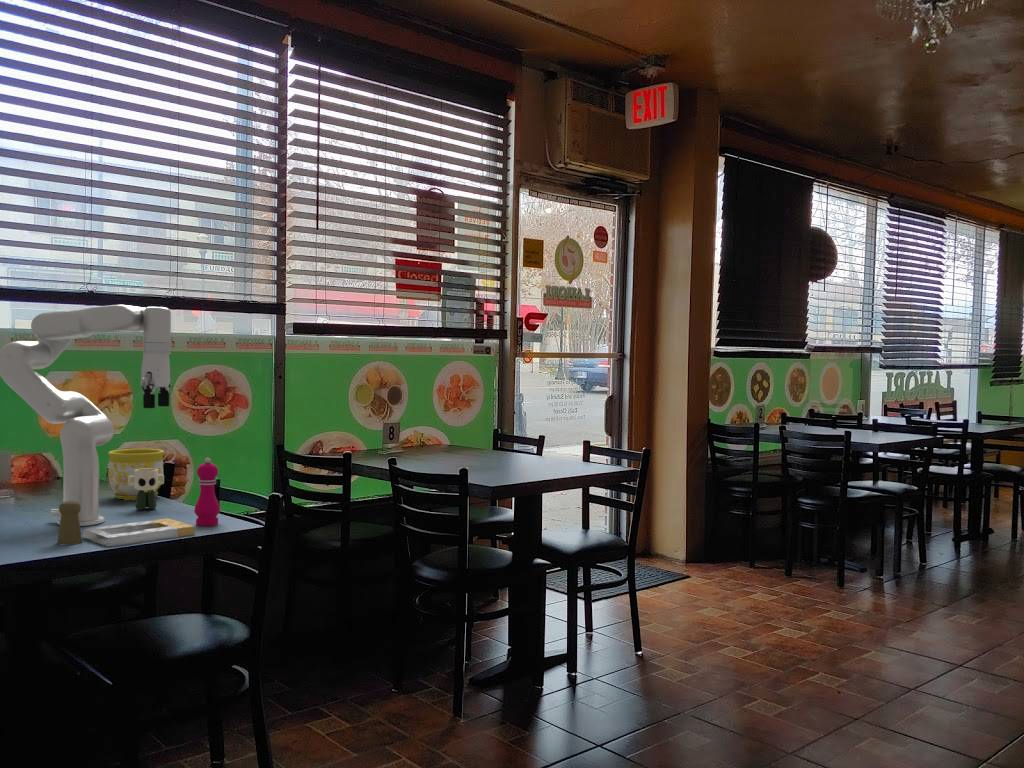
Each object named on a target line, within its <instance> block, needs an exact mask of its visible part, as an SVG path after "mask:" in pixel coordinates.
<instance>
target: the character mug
mask: <svg viewBox="0 0 1024 768" xmlns="http://www.w3.org/2000/svg"><path fill="white" fill-rule="evenodd" d="M158 477H161V482H158ZM131 479H134V483H131ZM160 484H161V485H164V484H165V475H164V474H158V469H153V468H144V469H136V470H135V471H134V476H128V486H134V487H135V489H137V490H139V492H138V494H137V499H136V500H135V508H136V509H137V510H140V509H142V510H146V509H147V508H148V509H147V510H153V509H156V508H157V499H156V498H157V497H156V496H155V493H154V491H153V489H156V488H157V486H158V485H160ZM161 485H160V486H161Z"/></svg>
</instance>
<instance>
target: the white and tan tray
mask: <svg viewBox="0 0 1024 768" xmlns="http://www.w3.org/2000/svg"><path fill="white" fill-rule="evenodd" d="M195 528H196V527H195V525H192V524H189V523H185V522H181V521H179V520H175V519H172V518H160V519H159V518H158V519H153V520H145V521H144V520H143V521H136V522H130V523H129V522H128V523H120V524H111V525H106V526H105V525H103V526H96V527H89V528H88V527H87V528H83V534H82V535H83V537H84V538H83V537H82V538H83V539H86V538H87V539H86V540H88V539H89V540H88V541H91V540H92V542H94V543H96V542H97V543H96V544H99V543H100V544H99V545H101V544H102V546H104V545H105V546H104V547H107V546H108V547H107V548H110V547H109V546H111V547H116V546H117V545H118V546H124V545H125V546H126V545H130V544H131V545H132V544H137V543H138V544H139V543H145V542H152V541H158V540H168V539H175V538H181V537H187V536H195V533H196V532H195V531H196V530H195Z"/></svg>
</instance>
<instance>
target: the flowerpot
mask: <svg viewBox="0 0 1024 768" xmlns="http://www.w3.org/2000/svg"><path fill="white" fill-rule="evenodd" d="M164 454H165V451H164V450H163V449H157V448H124V449H114V450H113V449H112V450H110V451H108V453H107V455H108V456H109V465H108V476H107V477H108V481H109V485H110V487H111V488H112V490H113V491H114V492H115V493H114V494H113V496H114V497H116V499H117V498H118V499H117V500H119V499H125V500H124V501H129V500H132V501H136V499H137V494H138V492H139V490H137V489H135V487H134V486H128V476H134V471H135V470H136V469H144V468H153V469H158V474H163V475H164V464H163V463H164V462H163V460H164V458H163V455H164ZM158 482H161V477H158ZM131 483H134V479H131ZM161 486H162V484H160V485H158V486H157V488H156V489H153V491H154V493H155V497H156V496H157V495H158V494H159V492H158V489H160V487H161Z"/></svg>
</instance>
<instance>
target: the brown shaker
mask: <svg viewBox="0 0 1024 768" xmlns="http://www.w3.org/2000/svg"><path fill="white" fill-rule="evenodd" d="M58 509H59V511H60V513H61V521H60V525H59V529H58V535H57V540H56V541H57V542H56V544H57V543H58V544H57V545H60V544H72V545H78V544H81V543H83V537H82V531H81V526H80V522H79V515H78V513H79V512H80V510H81V506H80V503H79V502H76V501H66V502H63V501H62V502H61V503H60V504H59V507H58ZM80 542H81V543H80ZM77 543H78V544H77Z"/></svg>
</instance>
